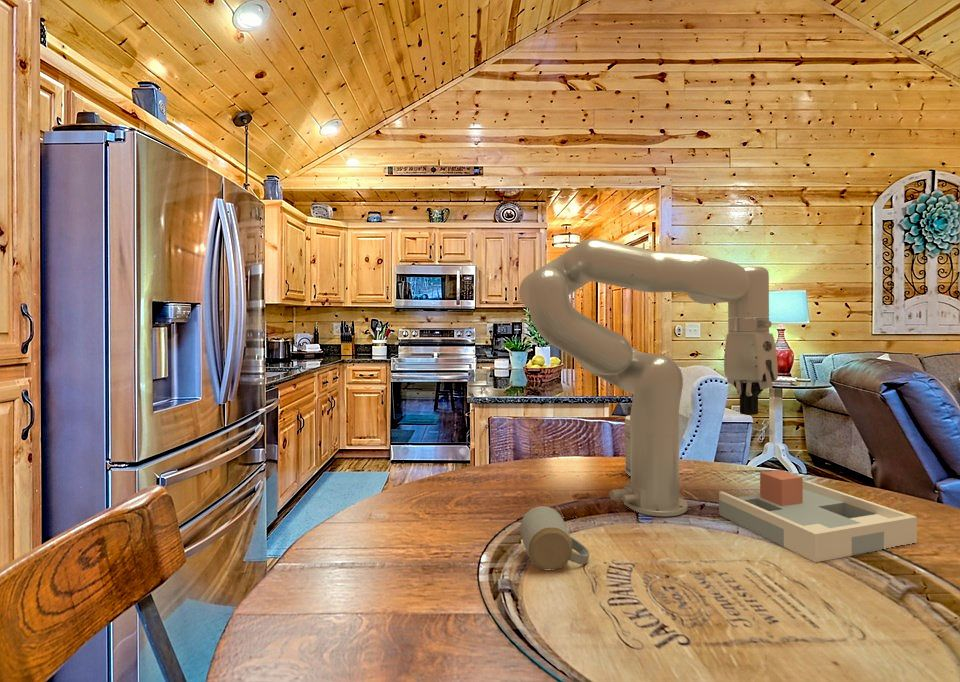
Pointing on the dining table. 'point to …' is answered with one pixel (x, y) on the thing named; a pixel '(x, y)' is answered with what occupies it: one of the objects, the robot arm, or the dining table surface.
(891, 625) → the dining table surface
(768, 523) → the board
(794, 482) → the block
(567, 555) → the ceramic mug
